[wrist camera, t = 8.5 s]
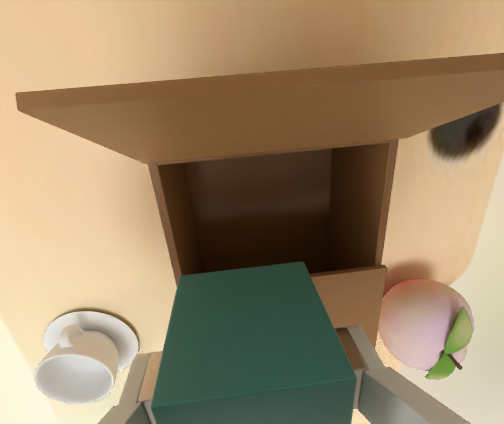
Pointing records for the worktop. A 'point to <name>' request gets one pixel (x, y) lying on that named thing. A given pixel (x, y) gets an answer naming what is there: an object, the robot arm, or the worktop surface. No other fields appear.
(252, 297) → the block
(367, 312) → the carton
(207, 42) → the worktop surface
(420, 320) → the decorative fruit
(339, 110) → the flap
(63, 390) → the teacup
